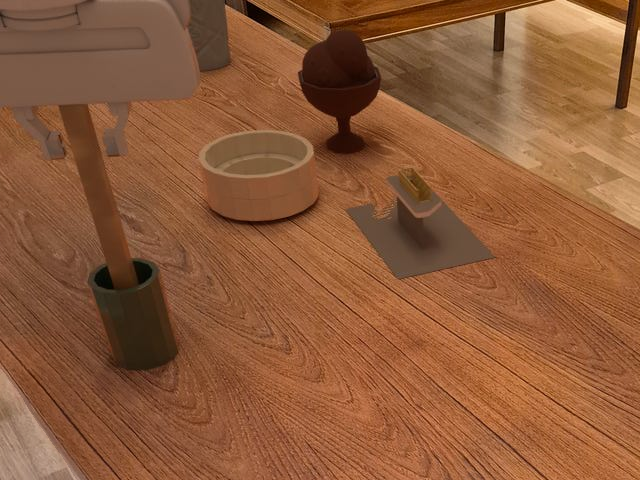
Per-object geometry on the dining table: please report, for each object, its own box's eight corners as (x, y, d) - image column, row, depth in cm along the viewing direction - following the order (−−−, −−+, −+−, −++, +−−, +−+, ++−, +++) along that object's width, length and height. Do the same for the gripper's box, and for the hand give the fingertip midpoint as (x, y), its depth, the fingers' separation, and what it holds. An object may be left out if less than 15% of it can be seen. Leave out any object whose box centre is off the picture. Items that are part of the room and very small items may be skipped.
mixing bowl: (205, 229, 105) (195, 181, 101) (211, 178, 115) (201, 132, 111) (321, 221, 107) (315, 173, 103) (317, 172, 117) (311, 127, 113)
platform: (434, 191, 113) (433, 140, 109) (495, 257, 102) (496, 203, 97) (344, 208, 110) (340, 157, 105) (397, 279, 98) (394, 224, 93)
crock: (110, 378, 84) (82, 296, 78) (118, 340, 89) (92, 259, 83) (177, 372, 85) (155, 290, 79) (182, 335, 90) (161, 254, 83)
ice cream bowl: (378, 126, 128) (371, 13, 118) (389, 159, 120) (382, 41, 110) (304, 131, 126) (290, 17, 116) (310, 165, 119) (295, 46, 108)
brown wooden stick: (134, 361, 85) (56, 108, 69) (138, 342, 88) (63, 93, 71) (153, 359, 86) (80, 107, 69) (157, 340, 88) (86, 92, 71)
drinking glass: (171, 74, 142) (153, -9, 134) (174, 52, 149) (157, -28, 141) (236, 70, 143) (222, -12, 135) (236, 49, 151) (223, -30, 142)
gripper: (184, -48, 67) (218, 133, 77) (-106, -41, 65) (-33, 146, 74) (178, -25, 63) (215, 165, 72) (-134, -16, 60) (-53, 179, 70)
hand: (87, 155), depth 73 cm, fingers open, 3 cm apart
